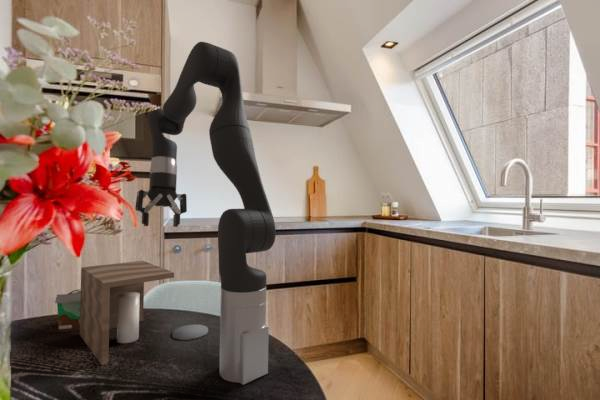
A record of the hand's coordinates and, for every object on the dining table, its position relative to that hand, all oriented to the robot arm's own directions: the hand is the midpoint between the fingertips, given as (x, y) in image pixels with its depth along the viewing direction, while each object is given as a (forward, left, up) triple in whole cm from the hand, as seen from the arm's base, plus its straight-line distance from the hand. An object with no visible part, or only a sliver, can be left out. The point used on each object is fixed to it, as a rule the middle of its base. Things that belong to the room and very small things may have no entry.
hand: (161, 226), depth 95 cm
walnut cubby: (-11, +12, -27) cm, 31 cm away
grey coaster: (-18, -1, -27) cm, 32 cm away
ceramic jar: (-11, +12, -27) cm, 31 cm away
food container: (+7, +18, -27) cm, 33 cm away
